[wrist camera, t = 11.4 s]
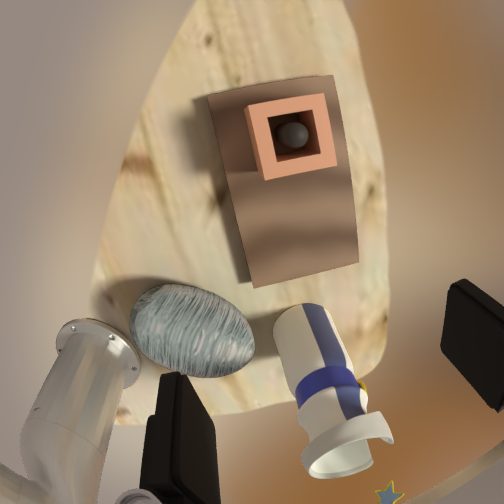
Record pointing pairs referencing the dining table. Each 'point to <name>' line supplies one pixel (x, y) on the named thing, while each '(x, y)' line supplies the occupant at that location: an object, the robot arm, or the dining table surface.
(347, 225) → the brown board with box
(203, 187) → the dining table surface
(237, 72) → the dining table surface
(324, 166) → the orange hollow square block
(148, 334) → the grey streaked oval part
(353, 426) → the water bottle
